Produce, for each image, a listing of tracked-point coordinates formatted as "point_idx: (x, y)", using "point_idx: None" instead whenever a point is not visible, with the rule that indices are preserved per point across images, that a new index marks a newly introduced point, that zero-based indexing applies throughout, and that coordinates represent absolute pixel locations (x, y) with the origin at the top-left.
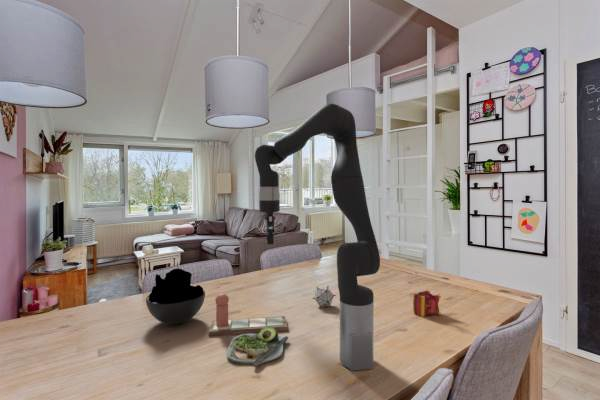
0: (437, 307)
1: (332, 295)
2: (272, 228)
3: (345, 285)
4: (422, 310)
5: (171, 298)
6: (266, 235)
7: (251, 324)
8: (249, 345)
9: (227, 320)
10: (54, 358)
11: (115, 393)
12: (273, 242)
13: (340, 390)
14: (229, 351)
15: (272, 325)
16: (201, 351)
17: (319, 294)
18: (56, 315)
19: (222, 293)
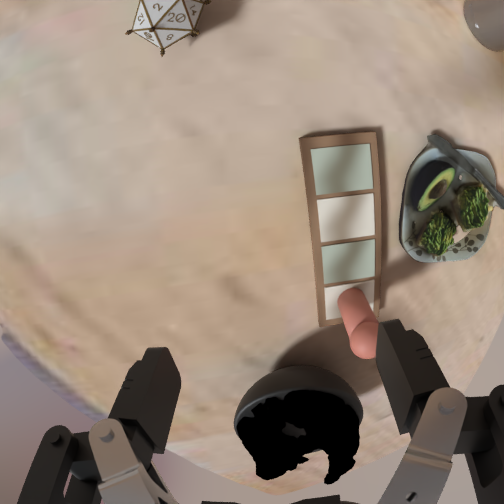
0: None
1: None
2: (449, 454)
3: None
4: None
5: (357, 425)
6: (168, 418)
7: (359, 232)
8: (483, 223)
9: (360, 295)
10: (388, 437)
11: (485, 352)
12: (401, 325)
13: None
14: (457, 256)
15: (371, 174)
16: (431, 303)
17: (183, 23)
18: (258, 482)
19: (371, 352)
